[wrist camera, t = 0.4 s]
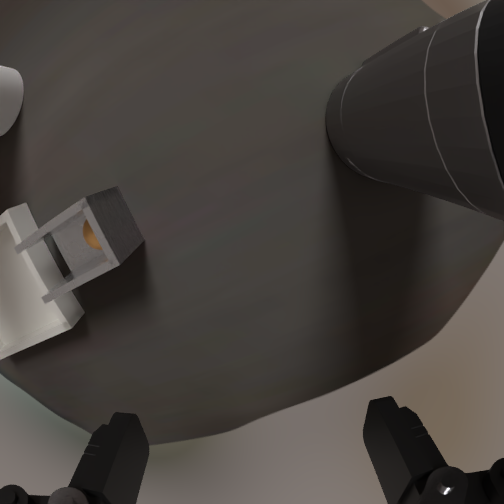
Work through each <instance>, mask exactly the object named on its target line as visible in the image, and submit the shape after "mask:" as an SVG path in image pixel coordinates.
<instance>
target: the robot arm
mask: <svg viewBox="0 0 504 504" xmlns="http://www.w3.org/2000/svg"><path fill="white" fill-rule="evenodd" d="M326 127H327V131H328V136H329V139H330V141H331V144H332V146H333V148H334V150H335V152H336V153H337V154H338V156H339V157H340V158H341V160H342V161H343V162H344V163H345V164H346V165H347V166H348V167H349V168H351V169H352V170H354V171H355V172H357V173H359V174H360V175H363V176H366V177H368V178H371V179H373V180H377V181H380V182H384V183H389V184H393V185H396V186H400V187H403V188H407V189H410V190H414V191H417V192H420V193H424V194H427V195H430V196H433V197H436V198H439V199H443V200H446V201H449V202H452V203H455V204H458V205H461V206H463V207H466V208H469V209H472V210H475V211H478V212H480V213H483V214H486V215H489V216H491V217H494V218H497V219H499V220H502V221H504V0H486V1H483V2H481V3H479V4H477V5H475V6H472V7H470V8H468V9H466V10H464V11H462V12H460V13H458V14H456V15H454V16H452V17H450V18H448V19H446V20H444V21H442V22H440V23H438V24H437V25H435V26H433V27H431V28H428V27H424V26H421V27H418V28H417V29H415V30H413V31H412V32H410V33H408V34H406V35H405V36H403V37H402V38H400V39H398V40H397V41H395V42H393V43H392V44H390V45H389V46H387V47H385V48H384V49H382V50H381V51H379V52H377V53H376V54H374V55H373V56H371V57H370V58H368V59H367V60H365V61H364V62H363V65H362V67H361V68H359V69H358V70H356V71H355V72H353V73H352V74H350V75H348V76H347V77H346V78H344V79H343V80H342V81H341V82H340V83H338V85H337V86H336V88H335V89H334V90H333V92H332V94H331V96H330V99H329V101H328V104H327V110H326ZM363 439H364V443H365V446H366V449H367V451H368V454H369V456H370V458H371V461H372V464H373V466H374V469H375V471H376V474H377V476H378V479H379V482H380V484H381V487H382V489H383V492H384V495H385V497H386V500H387V502H388V504H504V458H501V459H499V460H497V461H496V462H495V463H494V464H493V466H492V467H491V468H490V470H485V471H479V472H473V473H464V472H463V471H462V470H460V469H458V468H456V467H451V466H448V465H447V463H446V462H445V460H444V458H443V456H442V455H441V453H440V451H439V450H438V448H437V446H436V445H435V443H434V441H433V440H432V438H431V437H430V435H428V432H427V430H426V428H425V427H424V426H423V424H422V422H421V420H420V419H419V417H418V416H417V414H416V413H414V412H413V411H412V410H410V409H409V408H407V407H402V408H399V407H398V405H397V403H396V402H395V400H394V398H393V397H391V396H388V397H383V398H379V399H374V400H370V402H369V405H368V409H367V414H366V419H365V424H364V427H363ZM148 456H149V443H148V440H147V438H146V435H145V433H144V431H143V428H142V426H141V423H140V421H139V418H138V416H137V415H136V414H130V413H119V412H115V413H114V414H113V416H112V418H111V420H110V423H109V425H105V424H102V425H101V426H100V427H99V428H98V429H97V430H96V431H95V432H94V433H93V435H92V437H91V439H90V441H89V443H88V446H87V447H86V449H85V451H84V454H83V455H82V458H81V460H80V462H79V464H78V466H77V468H76V471H75V473H74V475H73V477H72V479H71V482H70V484H69V486H68V487H64V488H60V489H58V490H56V491H55V492H53V493H52V495H51V496H37V495H28V494H27V493H26V492H25V490H24V489H23V488H21V487H20V486H17V485H7V486H4V487H3V488H2V489H0V504H136V501H137V497H138V493H139V490H140V485H141V482H142V478H143V475H144V471H145V467H146V464H147V460H148Z"/></svg>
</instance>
